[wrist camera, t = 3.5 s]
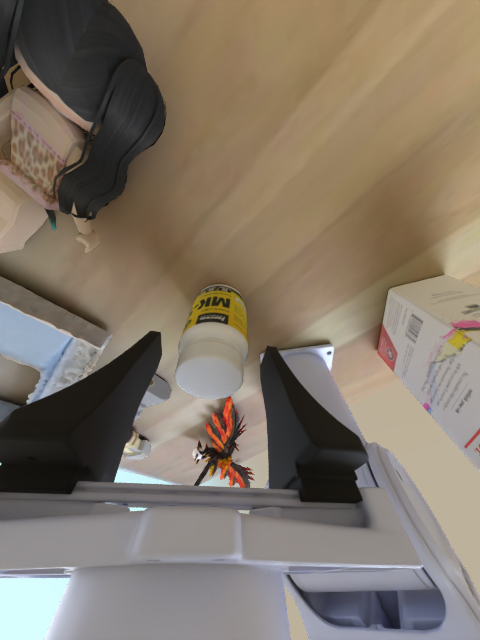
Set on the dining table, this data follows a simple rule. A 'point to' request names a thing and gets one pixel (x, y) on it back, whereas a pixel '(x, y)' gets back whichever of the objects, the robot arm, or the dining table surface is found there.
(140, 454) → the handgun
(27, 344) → the picture frame
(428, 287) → the ink cartridge box
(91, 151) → the toy figure
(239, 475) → the phoenix figurine
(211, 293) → the supplement bottle
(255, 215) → the dining table surface
